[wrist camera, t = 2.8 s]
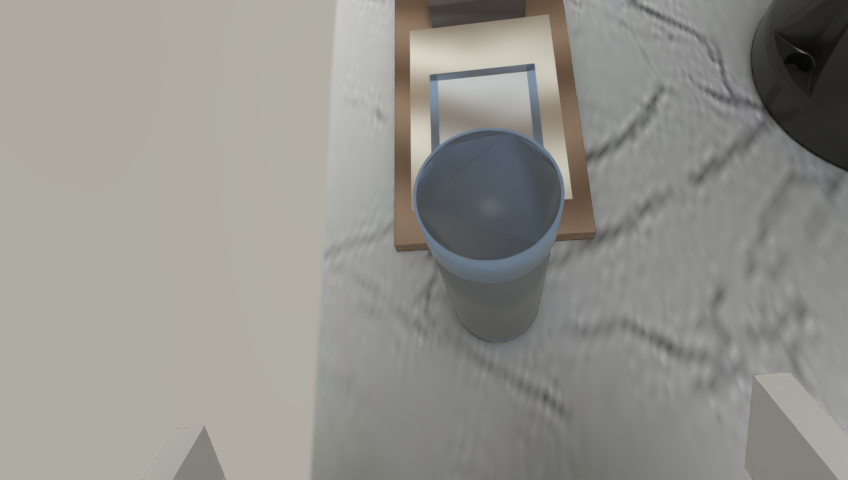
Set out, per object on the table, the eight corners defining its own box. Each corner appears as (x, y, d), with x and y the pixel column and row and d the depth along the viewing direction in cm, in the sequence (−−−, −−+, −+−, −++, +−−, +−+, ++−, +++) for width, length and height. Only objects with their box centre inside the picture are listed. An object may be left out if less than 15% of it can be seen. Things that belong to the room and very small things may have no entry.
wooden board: (398, -33, 39) (389, -70, 37) (552, -54, 38) (555, -94, 35) (397, 251, 31) (387, 232, 29) (593, 238, 30) (601, 216, 27)
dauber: (484, 250, 31) (467, 105, 18) (556, 293, 29) (593, 170, 16) (438, 316, 30) (383, 213, 17) (509, 365, 28) (510, 293, 15)
